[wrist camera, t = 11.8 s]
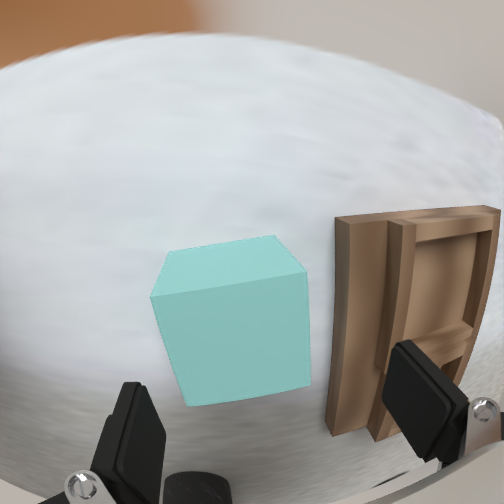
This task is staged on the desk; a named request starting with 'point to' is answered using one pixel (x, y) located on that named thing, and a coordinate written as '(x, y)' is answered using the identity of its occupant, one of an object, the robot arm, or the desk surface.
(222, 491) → the travel mug
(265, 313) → the block
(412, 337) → the organizer
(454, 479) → the robot arm
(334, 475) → the desk surface
